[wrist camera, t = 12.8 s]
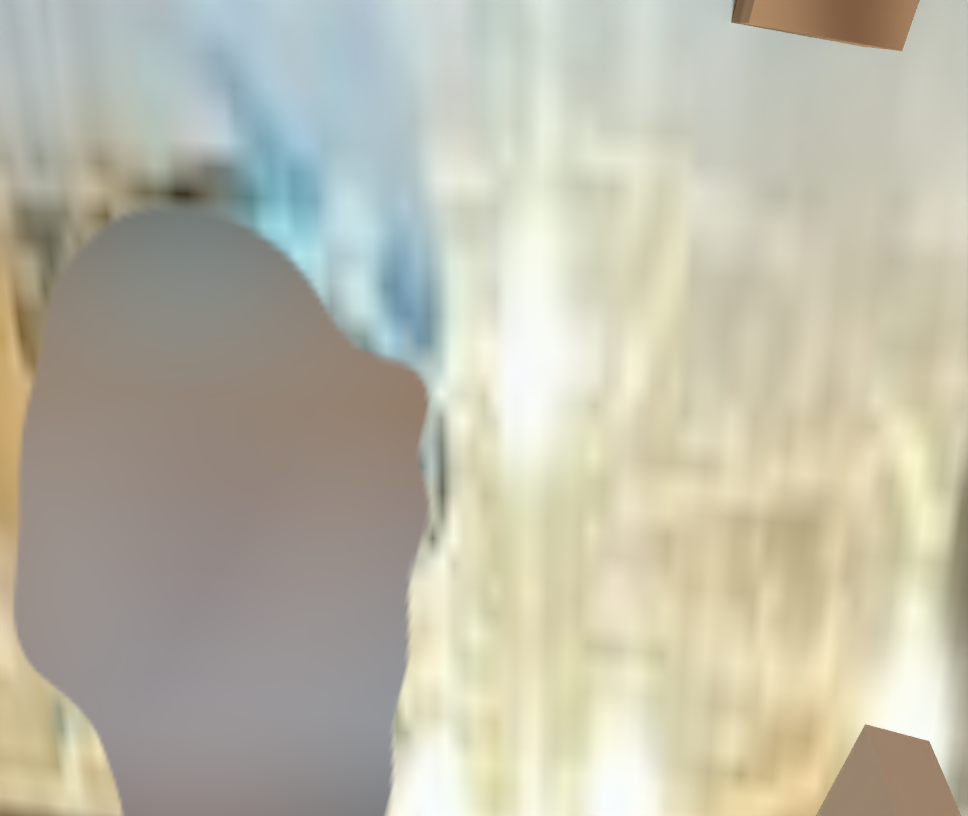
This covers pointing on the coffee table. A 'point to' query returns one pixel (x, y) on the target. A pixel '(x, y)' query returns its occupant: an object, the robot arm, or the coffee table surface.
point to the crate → (834, 19)
